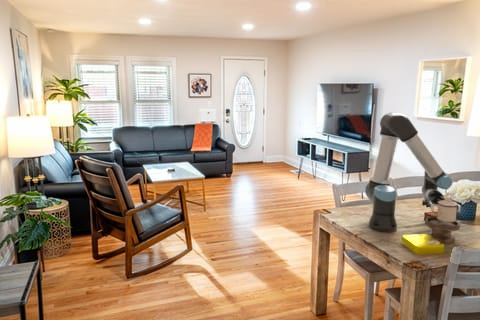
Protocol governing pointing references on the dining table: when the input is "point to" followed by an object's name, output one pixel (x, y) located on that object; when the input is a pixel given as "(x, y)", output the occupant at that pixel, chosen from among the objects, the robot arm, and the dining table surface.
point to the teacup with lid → (446, 210)
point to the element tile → (422, 244)
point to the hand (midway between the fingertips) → (446, 208)
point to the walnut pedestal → (442, 229)
